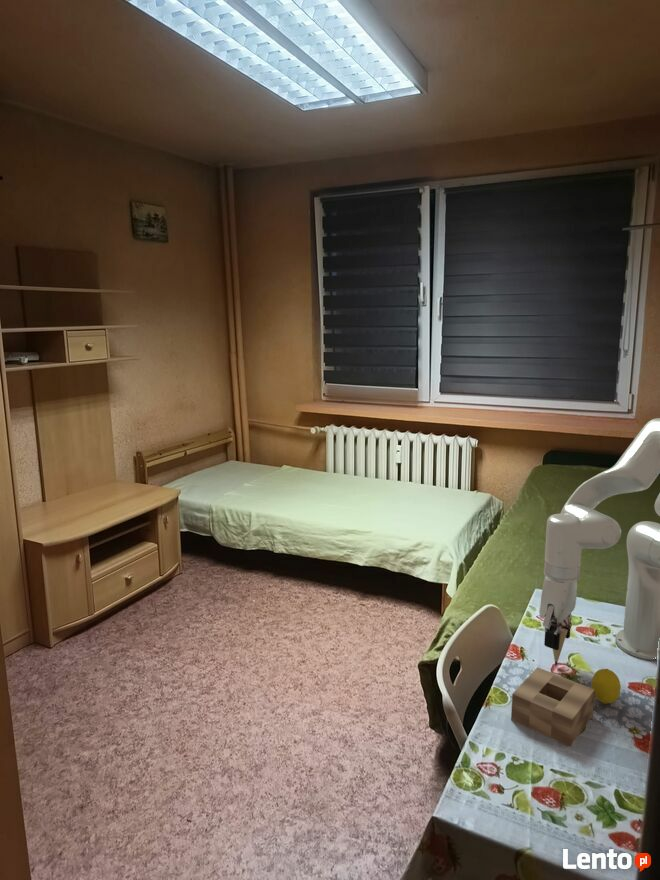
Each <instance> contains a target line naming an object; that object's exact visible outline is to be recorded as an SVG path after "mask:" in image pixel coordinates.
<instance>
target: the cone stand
mask: <svg viewBox="0 0 660 880" xmlns="http://www.w3.org/2000/svg"><path fill="white" fill-rule="evenodd" d="M594 692H595V689H592V687H589V686H587V685H584V684H581V683H579V682H577V681H574V680H571V679H569V678H566V677H563V676H561V675H558V674H556V673H553V672H550V671H549V670H545V669H543V668H540V667H538V666H537V667H536V668H535V669H534V670H533V671H532V673H530V675H528V677H526V679H525V680H523V682H522V683H520V685H519V686H518V687H517V688H516V689H515V691H514V692H513V693H512V694H511V696H512V697H511V710H510V711H511V713H510V715H511V717H510V720H511V721H512V722H515V723H516V724H520V725H522V726H523V725H524V726H523V727H526V728H527V727H528V728H527V729H529V730H532V731H533V732H536V733H539V734H540V735H543V736H545V737H548V738H550V739H552V740H553V741H556V742H558V743H560V744H562V745H564V746H567V747H569V748H571V747H572V745H573V744H574V743H575V741H576V740H577V738H578V737H579V735H580V734H581V733H582V732H583V730H584V729H585V727H586V726H587V724H588V723H589V721H590V720H591V718H592V717H593V714H594V704H595V703H594V701H595V696H594Z"/></svg>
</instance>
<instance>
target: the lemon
mask: <svg viewBox="0 0 660 880" xmlns="http://www.w3.org/2000/svg"><path fill="white" fill-rule="evenodd" d="M591 688H592V689H595V692H594V698H595V699H597V700H598V701H600V702H601V703H602V704H604V705H605V704H612V703H615V702H616V701H617V700H618V699H619V697H620V693H621V681H620V679H619V676H618V675H617V674H616V673H615V672H614V671H613V670H610V669H609V668H600V669H599V670H597V671H595V673H594V675H593V677H592V680H591Z"/></svg>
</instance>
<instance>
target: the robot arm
mask: <svg viewBox="0 0 660 880" xmlns="http://www.w3.org/2000/svg"><path fill="white" fill-rule="evenodd" d="M659 475H660V417H657V418H652V419H651V420H649V421H648V422H646V423H645V425H644V426H643V427H642V428H641V430H639V432H638V434H637V435H636V436H635V438H634V439H633V440H632V441H631V443H630V444H629V445H628V447H627V448H626V449H625V451H624V452H623V453H622V455H621V456H620V457H619V459H618V460H617V462H616V463H615V464H614V465H613V466H612V467H610V468H608V469H606V470H604V471H602V472H600V473H597V474H596V475H594V476H592V477H591V478H589V479H588V480H585V481H584V482H583V483H582V484H580V485H579V486H577V488H576V489H575V490H574V492H573V493H572V494H571V495H570V497H569V498H568V500H567V501H566V502H565V504H564V505H563V507H562V509H561V510H560V513H555V514H551V515H549V517H548V518H547V520H546V531H545V545H544V546H545V547H544V564H543V565H544V566H543V574H544V580H543V583H542V584H543V585H542V587H541V588H542V589H541V596H540V603H539V604H540V605H539V617H540V619H541V618H543V622H542V626H543V627H544V641H543V642H544V643H543V645H544V647H546V648H548V649H549V648H550V649H552V650H553V649H554V650H558V649H559V642H560V634H559V633H558V632H559V627H560V622H562V621H563V620H564V619H565V618H566V617H567V616H568V615H570V617H569V619H570V621H571V622H572V618H573V617H572V613H573V611H574V610H575V608H576V604H577V593H578V590H577V589H578V588H577V587H578V582H577V581H578V580H579V579H580V577H581V574H580V573H581V560H582V550H583V549H590V550H592V549H594V550H604V549H608V548H611V547H614V546H615V545H616V544H617V543H618V542H619V541H620V539H621V536H622V529H621V526H620V524H619V522H617V520H616V519H614V518H613V517H610V516H609V515H606V514H604V513H601V512H599V511H598V510H596V507H597V506H598V505H599V504H600V503H602V502H603V501H604V500H606V499H608V498H610V497H611V498H612V497H613V496H616V495H622V494H629V493H635V492H636V493H637V492H642V491H646V490H647V489H649V488H650V487H651V485H653V483H654V481H655V480H656V479H657V478H658V477H659ZM654 502H655V503H654V506H653V507H654V511H655V513H656V515H658V516H659V517H660V492H659V494H658V495H657V497H656V499H655V501H654ZM626 551H627V558H628V576H627V587H626V596H625V607H624V619H623V630H620V631H619V632H617V633H616V635H615V644H616V645H617V646H618V647H619V649H621V650H622V651H624V652H625V653H627V654H629V655H631V656H634V657H636V658H639V659H643V660H648V661H658V660H657V648H658V641H659V638H660V523H658V522H656V521H655V522H654V521H650V520H649V521H648V520H646V521H645V520H643V521H639V522H636V523H635V524H634V525H632V527H631V528H630V529H629V531H628V533H627V536H626ZM553 616H554V617H555V618H557V620H556V619H553ZM551 622H554V623H556V626H555V627H554V626H553V625H552V624H551ZM570 637H571V629H569V630H568V631H567V635H566V638H565V639H570ZM655 657H656V660H655ZM653 658H654V660H653Z"/></svg>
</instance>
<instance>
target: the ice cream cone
mask: <svg viewBox="0 0 660 880" xmlns="http://www.w3.org/2000/svg"><path fill="white" fill-rule="evenodd" d="M569 617H570V615H568V616H567V617H566V618H565V619H564V620H563V621H562V622H560V627H559V632H558V633H559V634H560V642H559V649H558V650H554V649H552V653H553V659H554V664H555V665H554V667H557V665H558V661H559V660H560V656H561V653H562V649H563V647H564V643H565V641H566V639H567V638H566V635H567V631H568V630H569V629H570V630H571V629H572V625H573V623H572V620H571V621H570V619H569ZM553 619H556V620H557V618H555V617H554V616H553ZM551 624H552V625H553V626H554V627H555V626H556V623H554V622H551Z"/></svg>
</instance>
